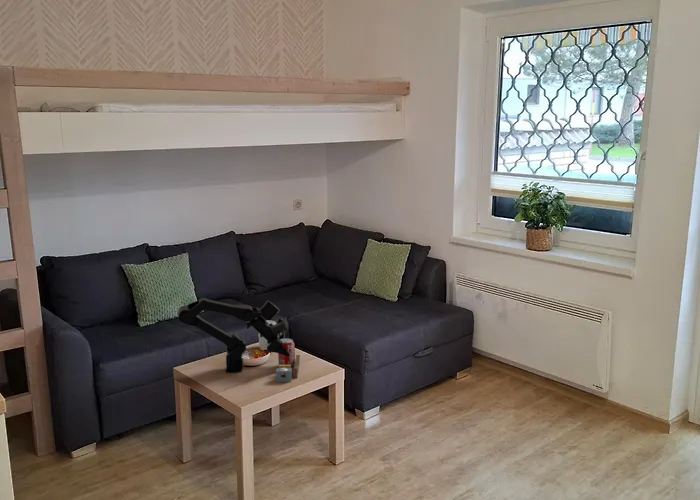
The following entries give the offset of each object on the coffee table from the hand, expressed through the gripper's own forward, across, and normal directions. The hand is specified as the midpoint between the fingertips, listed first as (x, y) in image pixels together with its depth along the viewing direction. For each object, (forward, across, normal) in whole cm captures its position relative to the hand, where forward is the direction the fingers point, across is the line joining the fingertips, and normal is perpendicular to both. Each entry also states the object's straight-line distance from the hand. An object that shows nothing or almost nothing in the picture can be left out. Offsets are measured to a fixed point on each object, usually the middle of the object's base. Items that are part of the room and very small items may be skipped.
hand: (289, 352), depth 280 cm
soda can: (+4, 0, +6) cm, 7 cm away
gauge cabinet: (+4, -14, +6) cm, 16 cm away
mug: (-3, +21, +13) cm, 25 cm away
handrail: (+7, -4, +2) cm, 9 cm away
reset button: (+3, -11, +5) cm, 12 cm away
